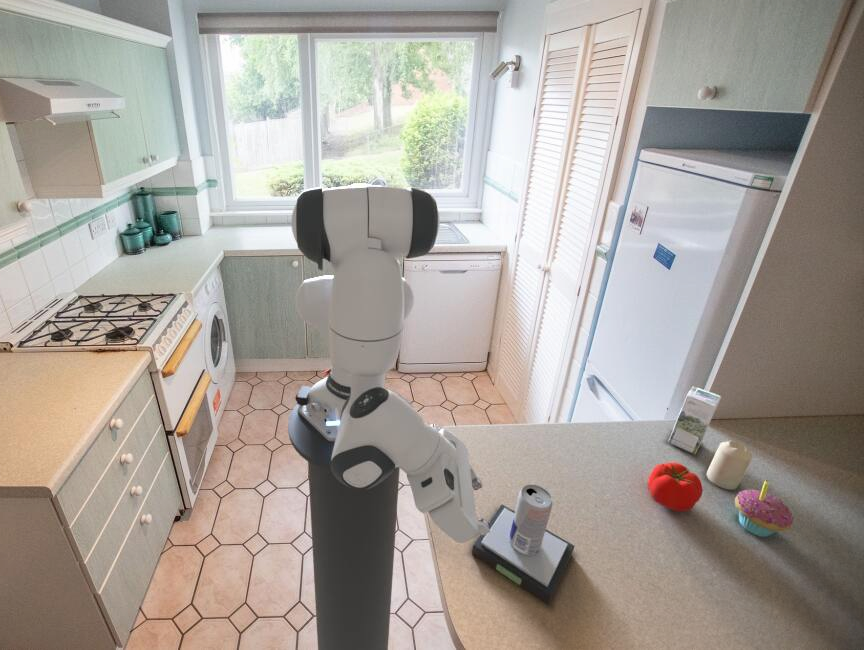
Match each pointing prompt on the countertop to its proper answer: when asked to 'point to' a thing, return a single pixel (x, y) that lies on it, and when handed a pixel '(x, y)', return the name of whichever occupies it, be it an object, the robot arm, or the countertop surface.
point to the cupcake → (762, 512)
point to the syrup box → (694, 419)
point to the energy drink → (530, 519)
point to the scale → (524, 556)
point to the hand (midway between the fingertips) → (482, 506)
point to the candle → (729, 464)
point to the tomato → (674, 486)
